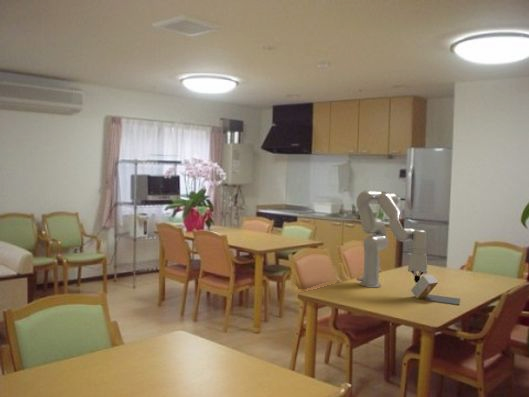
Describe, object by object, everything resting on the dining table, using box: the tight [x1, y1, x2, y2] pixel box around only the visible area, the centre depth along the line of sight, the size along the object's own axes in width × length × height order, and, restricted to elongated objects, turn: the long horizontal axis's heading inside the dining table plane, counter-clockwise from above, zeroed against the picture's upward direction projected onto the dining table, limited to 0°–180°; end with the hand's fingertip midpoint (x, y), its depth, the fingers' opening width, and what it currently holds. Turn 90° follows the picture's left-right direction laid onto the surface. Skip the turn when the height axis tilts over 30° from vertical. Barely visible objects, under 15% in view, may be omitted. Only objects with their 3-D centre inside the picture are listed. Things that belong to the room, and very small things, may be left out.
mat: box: [424, 293, 461, 306], centre depth 281 cm, size 18×14×1 cm
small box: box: [410, 274, 439, 299], centre depth 282 cm, size 8×6×13 cm
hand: (416, 282), depth 286 cm, fingers closed
